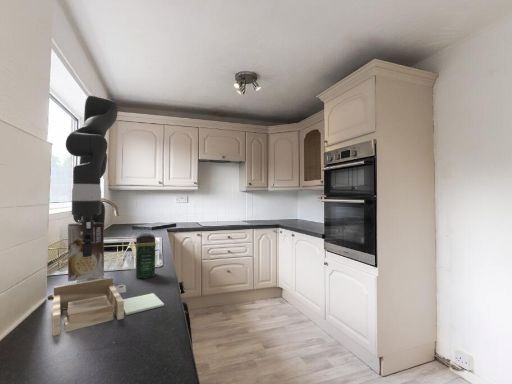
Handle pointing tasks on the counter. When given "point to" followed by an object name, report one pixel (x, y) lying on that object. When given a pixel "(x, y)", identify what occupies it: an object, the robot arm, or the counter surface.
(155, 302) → the sage mat
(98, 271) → the coffee box
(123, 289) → the kitchen cleaver
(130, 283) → the counter surface
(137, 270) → the coffee jar
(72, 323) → the offcut stack
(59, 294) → the pine rack
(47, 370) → the counter surface
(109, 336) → the counter surface
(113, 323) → the counter surface
